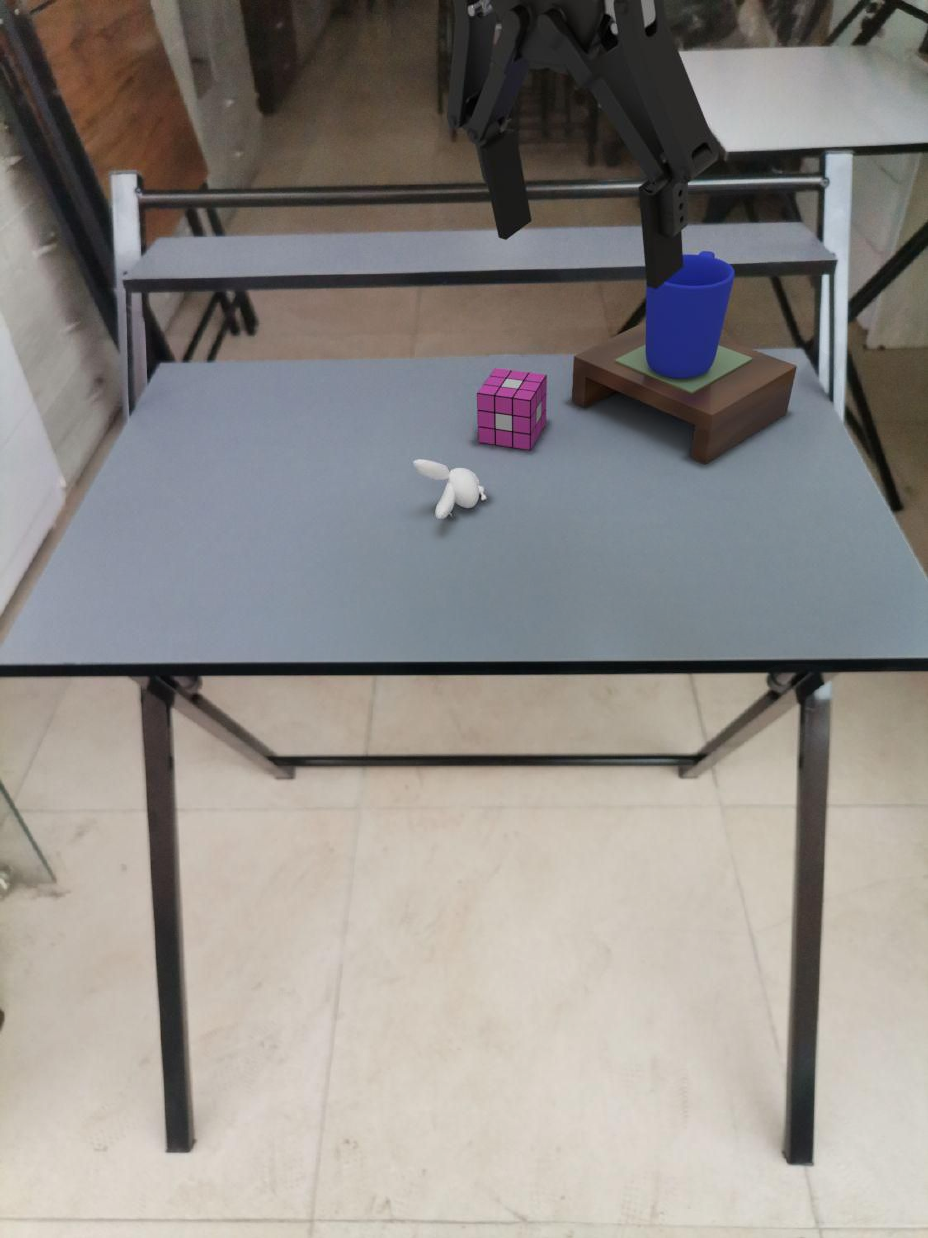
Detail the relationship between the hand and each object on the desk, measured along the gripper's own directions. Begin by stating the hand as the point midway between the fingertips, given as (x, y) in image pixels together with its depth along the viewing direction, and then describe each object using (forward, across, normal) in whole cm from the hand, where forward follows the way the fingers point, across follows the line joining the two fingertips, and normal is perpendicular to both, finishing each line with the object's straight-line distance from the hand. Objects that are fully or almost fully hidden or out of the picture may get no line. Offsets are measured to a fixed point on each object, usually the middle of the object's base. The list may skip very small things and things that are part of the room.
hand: (585, 251), depth 63 cm
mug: (+27, -10, +22) cm, 36 cm away
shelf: (+32, -10, +20) cm, 40 cm away
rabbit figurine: (+25, -14, -9) cm, 30 cm away
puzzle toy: (+29, -19, +5) cm, 35 cm away
